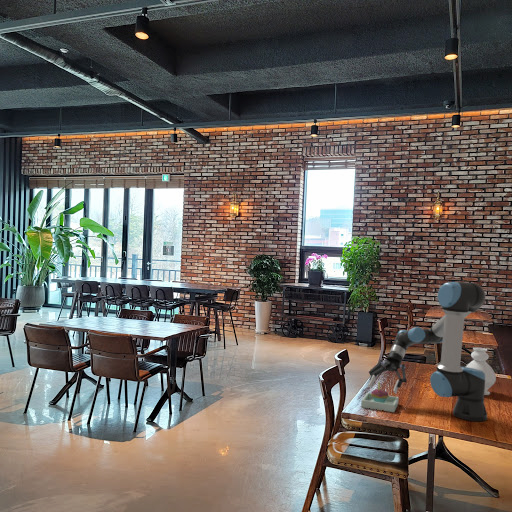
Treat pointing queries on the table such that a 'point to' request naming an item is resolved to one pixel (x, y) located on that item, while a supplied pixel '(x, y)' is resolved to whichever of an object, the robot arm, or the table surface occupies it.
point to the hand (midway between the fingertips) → (381, 389)
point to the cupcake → (379, 394)
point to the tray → (387, 406)
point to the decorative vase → (483, 367)
